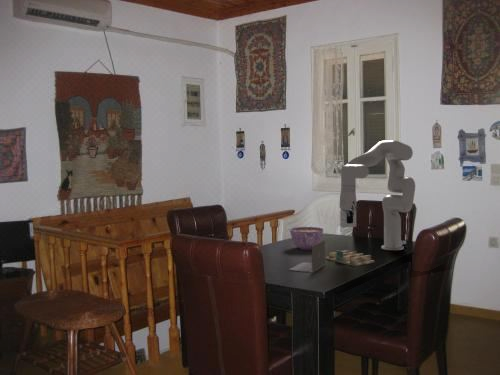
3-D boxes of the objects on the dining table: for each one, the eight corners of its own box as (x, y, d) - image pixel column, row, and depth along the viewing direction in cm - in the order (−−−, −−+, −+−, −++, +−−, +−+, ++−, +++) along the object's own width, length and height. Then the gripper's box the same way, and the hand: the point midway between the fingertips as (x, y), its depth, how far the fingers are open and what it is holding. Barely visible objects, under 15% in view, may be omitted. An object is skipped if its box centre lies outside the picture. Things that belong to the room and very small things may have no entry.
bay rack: (345, 255, 281) (345, 244, 280) (374, 262, 262) (374, 251, 262) (325, 258, 274) (325, 247, 273) (354, 266, 255) (354, 254, 254)
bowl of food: (313, 253, 289) (312, 233, 289) (283, 249, 302) (283, 230, 301) (329, 247, 305) (329, 228, 304) (301, 244, 317) (301, 226, 317)
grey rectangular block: (340, 226, 271) (340, 210, 270) (353, 225, 274) (353, 209, 273) (343, 227, 268) (343, 210, 268) (356, 226, 271) (356, 209, 270)
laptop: (302, 263, 265) (302, 238, 264) (325, 265, 259) (325, 240, 258) (288, 271, 249) (288, 244, 248) (312, 273, 243) (312, 246, 242)
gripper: (334, 187, 276) (334, 221, 277) (350, 189, 261) (350, 225, 262) (346, 187, 279) (346, 220, 280) (363, 189, 263) (363, 224, 265)
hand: (348, 222), depth 271 cm, fingers closed on grey rectangular block, 3 cm apart
